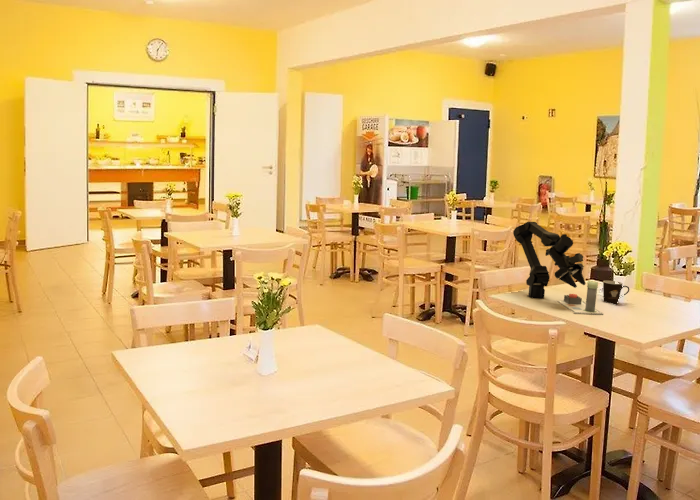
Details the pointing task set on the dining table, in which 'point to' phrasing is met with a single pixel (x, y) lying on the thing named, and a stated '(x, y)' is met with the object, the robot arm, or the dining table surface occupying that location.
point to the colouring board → (579, 308)
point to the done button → (572, 295)
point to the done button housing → (572, 300)
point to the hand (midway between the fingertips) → (580, 285)
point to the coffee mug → (612, 291)
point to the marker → (591, 296)
